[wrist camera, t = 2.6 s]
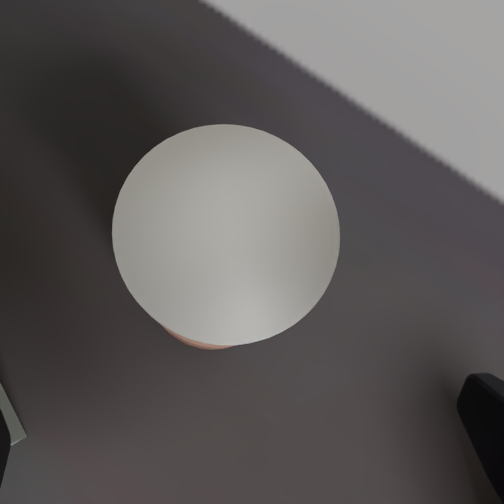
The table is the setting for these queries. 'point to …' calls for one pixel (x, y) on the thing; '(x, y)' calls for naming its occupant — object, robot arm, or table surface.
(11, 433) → the tote
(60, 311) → the table surface
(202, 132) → the canister
